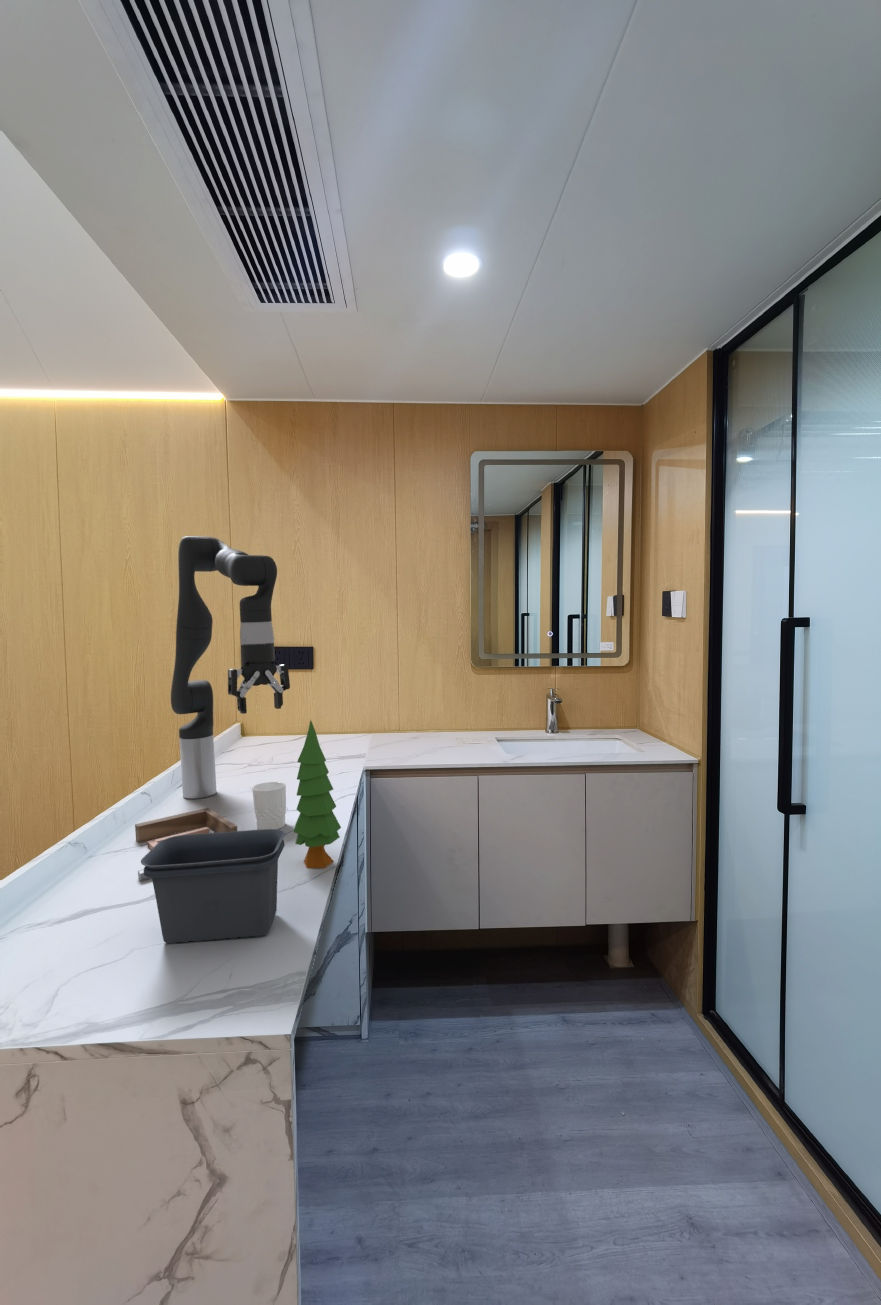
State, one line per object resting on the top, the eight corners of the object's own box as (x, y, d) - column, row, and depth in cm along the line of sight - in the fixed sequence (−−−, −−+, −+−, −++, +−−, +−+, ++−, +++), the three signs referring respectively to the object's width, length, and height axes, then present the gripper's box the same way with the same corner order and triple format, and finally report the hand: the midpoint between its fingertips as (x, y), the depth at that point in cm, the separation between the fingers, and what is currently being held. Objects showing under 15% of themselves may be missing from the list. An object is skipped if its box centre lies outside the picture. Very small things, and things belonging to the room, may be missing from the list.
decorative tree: (325, 851, 138) (319, 714, 136) (351, 862, 131) (345, 719, 129) (286, 864, 131) (279, 721, 129) (311, 877, 124) (304, 726, 122)
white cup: (294, 822, 158) (292, 782, 157) (275, 833, 150) (273, 791, 150) (266, 819, 160) (264, 780, 160) (247, 830, 153) (245, 789, 152)
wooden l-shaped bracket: (136, 840, 149) (134, 824, 148) (208, 823, 160) (207, 807, 159) (160, 863, 134) (159, 845, 134) (238, 842, 145) (237, 825, 145)
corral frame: (147, 846, 144) (147, 841, 144) (207, 831, 153) (206, 826, 153) (168, 865, 133) (168, 860, 132) (231, 848, 141) (231, 843, 141)
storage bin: (139, 955, 98) (133, 865, 97) (173, 908, 113) (168, 830, 112) (279, 945, 99) (274, 856, 98) (294, 900, 115) (290, 823, 114)
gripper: (278, 639, 155) (281, 705, 156) (220, 643, 145) (224, 713, 147) (292, 640, 149) (296, 708, 150) (233, 644, 140) (237, 716, 141)
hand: (260, 710), depth 148 cm, fingers open, 8 cm apart
